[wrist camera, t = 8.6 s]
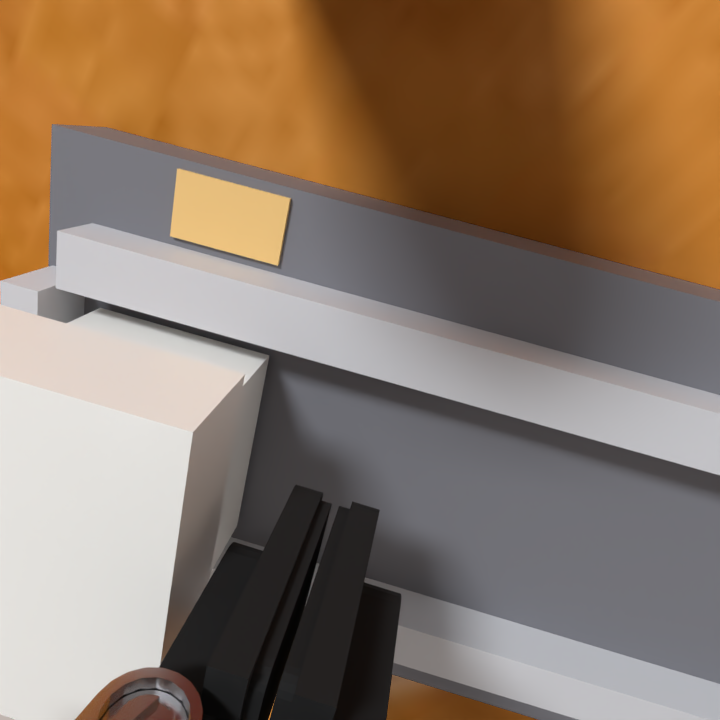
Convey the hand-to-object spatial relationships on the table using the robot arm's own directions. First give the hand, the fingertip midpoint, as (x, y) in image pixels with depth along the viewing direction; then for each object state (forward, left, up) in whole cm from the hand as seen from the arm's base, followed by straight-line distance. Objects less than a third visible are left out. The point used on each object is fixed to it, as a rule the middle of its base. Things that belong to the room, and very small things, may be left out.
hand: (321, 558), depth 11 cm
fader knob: (+4, 0, -3) cm, 5 cm away
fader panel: (-5, 0, -5) cm, 7 cm away
